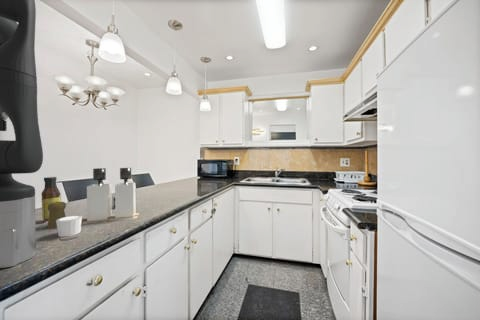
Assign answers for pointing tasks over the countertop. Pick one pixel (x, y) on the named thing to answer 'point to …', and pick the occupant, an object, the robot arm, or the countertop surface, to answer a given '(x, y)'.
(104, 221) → the stand
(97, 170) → the plunger left
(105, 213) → the jar left
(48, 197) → the sauce bottle
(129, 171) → the plunger right
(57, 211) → the cork
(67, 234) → the white ramekin
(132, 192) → the jar right
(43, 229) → the countertop surface
